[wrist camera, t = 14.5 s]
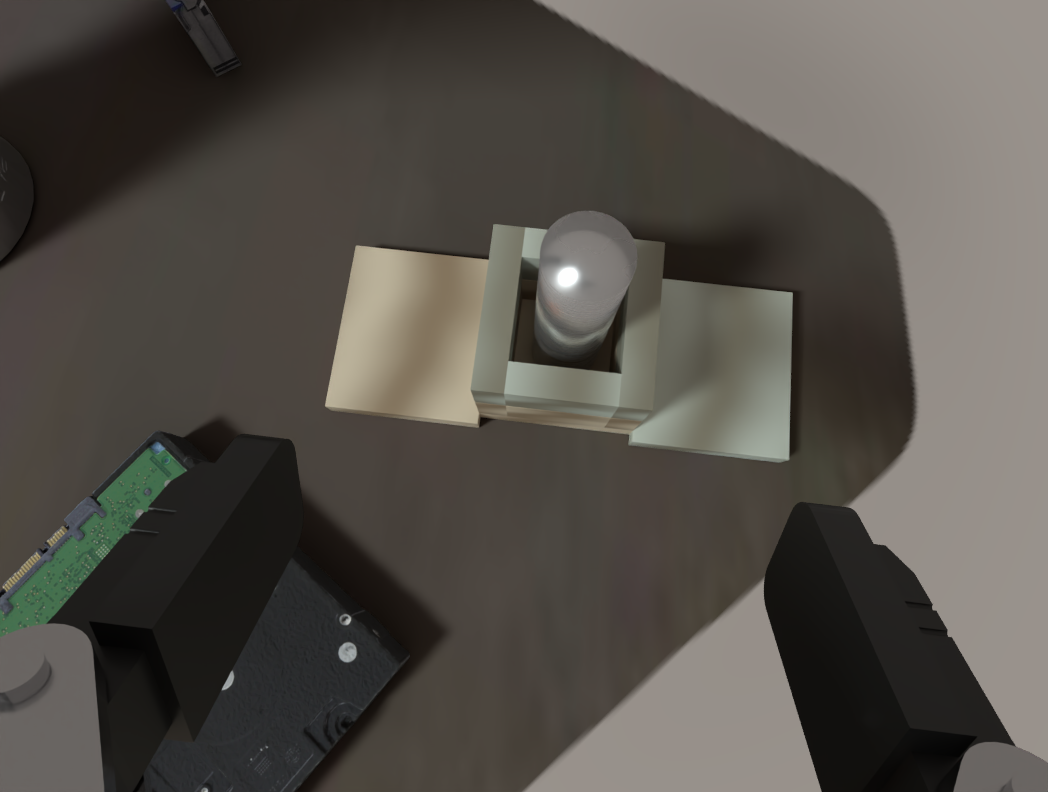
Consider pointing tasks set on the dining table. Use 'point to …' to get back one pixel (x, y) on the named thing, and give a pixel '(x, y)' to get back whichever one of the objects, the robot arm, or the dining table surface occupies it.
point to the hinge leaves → (557, 392)
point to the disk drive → (265, 662)
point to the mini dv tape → (205, 34)
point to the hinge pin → (580, 287)
